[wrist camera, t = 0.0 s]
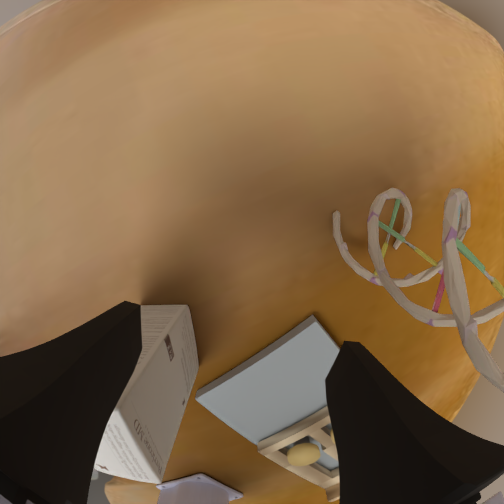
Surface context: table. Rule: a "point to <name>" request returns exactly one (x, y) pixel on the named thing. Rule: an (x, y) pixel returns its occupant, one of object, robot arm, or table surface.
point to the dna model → (432, 273)
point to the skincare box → (152, 397)
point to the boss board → (278, 391)
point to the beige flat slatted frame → (311, 472)
